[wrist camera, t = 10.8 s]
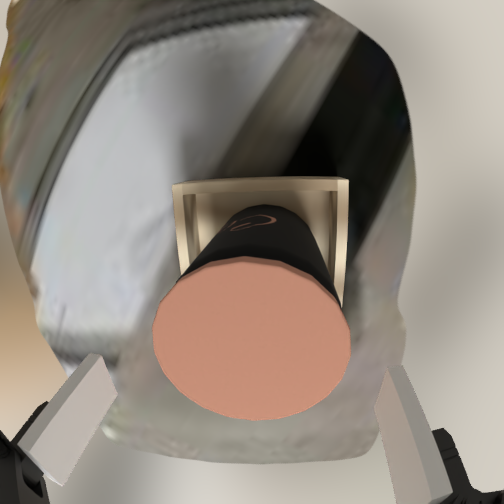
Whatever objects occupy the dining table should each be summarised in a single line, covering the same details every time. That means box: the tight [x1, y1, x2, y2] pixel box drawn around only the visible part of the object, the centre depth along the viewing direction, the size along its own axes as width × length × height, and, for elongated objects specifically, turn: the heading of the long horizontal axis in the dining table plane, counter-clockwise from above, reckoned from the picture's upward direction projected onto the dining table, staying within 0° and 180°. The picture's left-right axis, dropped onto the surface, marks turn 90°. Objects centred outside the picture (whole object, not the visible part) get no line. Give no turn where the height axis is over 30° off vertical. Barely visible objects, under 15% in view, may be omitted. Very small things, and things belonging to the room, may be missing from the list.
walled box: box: [172, 176, 349, 307], centre depth 30 cm, size 20×16×5 cm
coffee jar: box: [152, 204, 351, 420], centre depth 23 cm, size 11×11×18 cm
